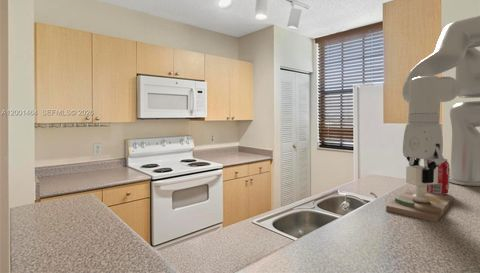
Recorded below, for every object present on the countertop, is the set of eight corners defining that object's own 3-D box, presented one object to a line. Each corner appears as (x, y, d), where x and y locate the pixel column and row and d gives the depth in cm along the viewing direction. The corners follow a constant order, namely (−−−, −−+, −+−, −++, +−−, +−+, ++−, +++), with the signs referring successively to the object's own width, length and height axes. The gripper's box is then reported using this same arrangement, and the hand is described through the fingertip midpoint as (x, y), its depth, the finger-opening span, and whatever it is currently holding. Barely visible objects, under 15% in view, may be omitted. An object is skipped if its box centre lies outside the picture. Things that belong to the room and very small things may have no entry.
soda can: (439, 190, 95) (441, 157, 94) (453, 196, 88) (455, 160, 87) (419, 190, 96) (420, 157, 95) (431, 196, 89) (432, 160, 88)
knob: (404, 198, 81) (405, 165, 81) (425, 197, 82) (426, 164, 82) (429, 208, 73) (430, 172, 72) (452, 207, 74) (454, 170, 73)
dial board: (408, 194, 92) (408, 186, 92) (452, 201, 83) (453, 193, 83) (386, 210, 77) (386, 202, 77) (436, 222, 68) (437, 212, 68)
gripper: (391, 119, 86) (390, 175, 87) (436, 120, 69) (434, 189, 71) (412, 118, 87) (411, 174, 88) (462, 119, 70) (459, 187, 72)
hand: (421, 180), depth 79 cm, fingers closed on knob, 3 cm apart
